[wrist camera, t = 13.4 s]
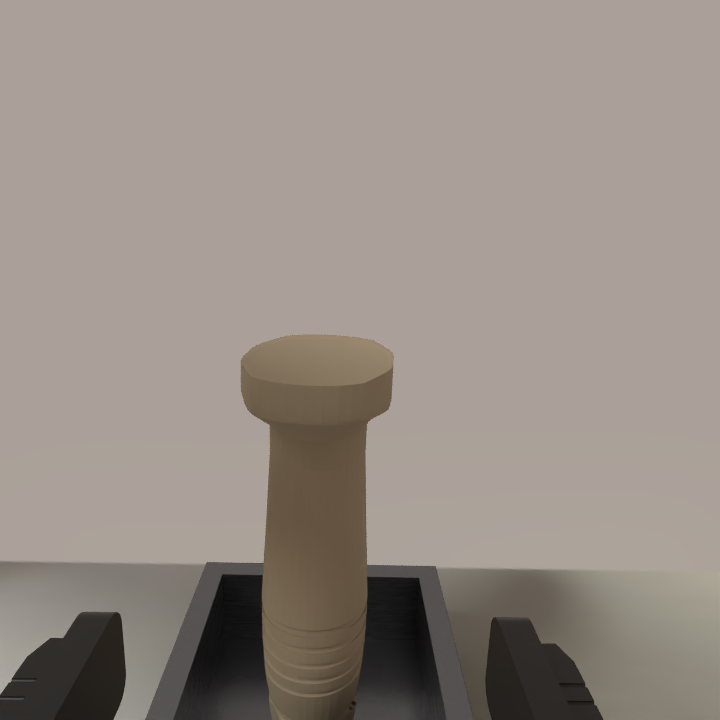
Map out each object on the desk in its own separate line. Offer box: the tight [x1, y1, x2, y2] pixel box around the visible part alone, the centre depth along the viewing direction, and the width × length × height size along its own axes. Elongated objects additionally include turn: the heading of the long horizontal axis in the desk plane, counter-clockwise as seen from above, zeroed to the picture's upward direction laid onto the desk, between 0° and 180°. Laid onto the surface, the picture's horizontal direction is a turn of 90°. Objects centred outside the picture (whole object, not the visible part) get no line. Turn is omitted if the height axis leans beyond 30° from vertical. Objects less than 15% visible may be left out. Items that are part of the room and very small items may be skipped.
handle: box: [241, 335, 394, 720], centre depth 21 cm, size 5×6×15 cm
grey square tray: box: [145, 562, 474, 720], centre depth 23 cm, size 11×11×4 cm
